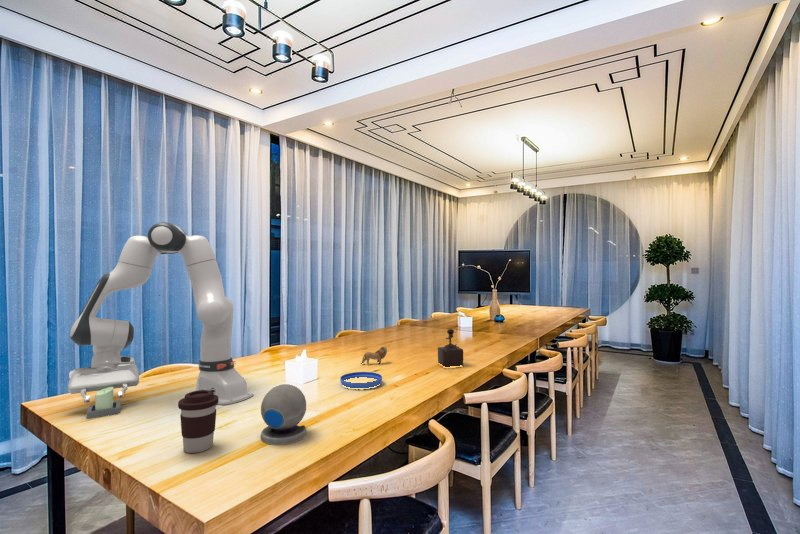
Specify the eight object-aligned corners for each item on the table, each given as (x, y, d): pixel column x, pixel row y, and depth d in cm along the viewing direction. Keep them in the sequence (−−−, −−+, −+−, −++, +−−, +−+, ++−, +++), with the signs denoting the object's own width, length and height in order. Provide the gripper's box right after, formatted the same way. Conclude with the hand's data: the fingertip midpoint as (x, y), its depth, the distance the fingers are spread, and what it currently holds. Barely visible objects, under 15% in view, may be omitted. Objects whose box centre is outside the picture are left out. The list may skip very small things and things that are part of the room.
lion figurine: (385, 362, 214) (385, 345, 214) (388, 364, 209) (388, 347, 209) (358, 364, 208) (358, 347, 209) (361, 367, 203) (361, 349, 204)
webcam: (313, 429, 123) (313, 380, 123) (293, 447, 110) (293, 393, 110) (275, 425, 125) (275, 378, 126) (251, 442, 113) (251, 389, 113)
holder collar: (89, 411, 138) (89, 405, 138) (120, 406, 143) (120, 400, 143) (86, 419, 131) (86, 413, 131) (119, 413, 136) (119, 407, 136)
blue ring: (359, 377, 184) (359, 369, 184) (390, 383, 174) (390, 375, 174) (331, 386, 170) (331, 378, 170) (363, 394, 159) (363, 385, 159)
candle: (98, 416, 134) (99, 391, 134) (92, 413, 136) (92, 389, 136) (115, 411, 138) (116, 388, 138) (109, 409, 140) (109, 385, 141)
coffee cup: (187, 440, 114) (188, 388, 114) (223, 439, 115) (223, 387, 115) (170, 456, 104) (171, 399, 104) (210, 455, 105) (210, 398, 105)
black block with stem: (465, 367, 202) (465, 332, 202) (445, 369, 199) (445, 333, 199) (452, 361, 217) (452, 328, 217) (433, 362, 214) (433, 329, 214)
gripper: (68, 364, 137) (64, 400, 129) (139, 357, 149) (139, 389, 140) (70, 374, 141) (65, 409, 133) (139, 366, 152) (138, 399, 144)
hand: (104, 399), depth 137 cm, fingers open, 8 cm apart
